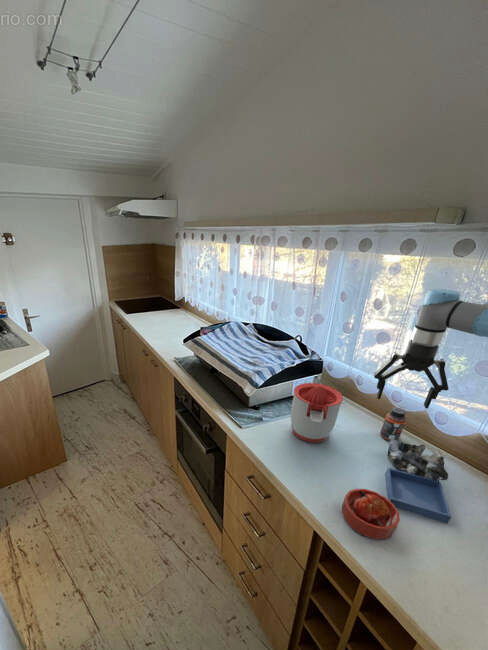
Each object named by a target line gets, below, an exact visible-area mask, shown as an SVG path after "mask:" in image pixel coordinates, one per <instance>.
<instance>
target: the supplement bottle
mask: <svg viewBox="0 0 488 650" xmlns="http://www.w3.org/2000/svg"><path fill="white" fill-rule="evenodd" d="M406 414H407V412H406V410H404V409H403V408H400V407H393V408H392V409H391V410H390V412H388V413H387V414H386V415H385V418H384V421H383V424H382V426H381V428H380V432H379V435H380V436H381V437H382V438H383V439H384V440H386V441H388V442H390V440H391V439H394V440H397V441H399V440H400V438H401V435H402V432H403V431H404V428H405V425H406V423H407V417H406Z"/></svg>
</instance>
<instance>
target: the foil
mask: <svg viewBox="0 0 488 650" xmlns="http://www.w3.org/2000/svg"><path fill="white" fill-rule="evenodd" d="M425 449H427V450H429V451H430V452H432V454H431V455H425V454H423V453H424V451H425ZM438 452H439V454H440V455H438V453H437V452H434V450H433V451H432V449H430V448H429V447H428V446H426V444H409V443H404V442H402V441H399V440H394V439H391V440H390V441H389V445H388V449H387V459H388V460H389V461H390V463H391V464H392V466H393V467H394V468H395V469H396V470H405V471H406V472H407V473H410V474H414V475H418V476H421V477H425V478H429V479H433V480H436V481H440V482H441V481H448V479H449V473H448V471H447V470H446V468H445V462H446V461H445V457H444V456H443V455H442V453H441V451H440V450H438ZM422 454H423V455H422Z"/></svg>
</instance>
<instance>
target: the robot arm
mask: <svg viewBox="0 0 488 650" xmlns="http://www.w3.org/2000/svg"><path fill="white" fill-rule="evenodd" d="M460 297H461V293H460V292H459V291H457V290H452V289H446V288H433V289H431V290H429V291H428V292H427V293H426V296H425V298H424V300H423V301H422V304H421V308H420V311H419V314H418V317H417V319H416V322H415V325H414V328H413V331H412V333H411V335H410V340H409V341H408V345H407V346H406V349H405V352H404V354H399V353H397V351H395V352H394V351H393V352H392V354H391V356H390V358H388V360H387V361H385V363H383V364H382V365H381V366H380V367H379V368H378V369H377V370H376V371H375V372H374V373H373V378H374V379H377V382H376V383H377V384H376V389H377V390H378V391H377V394H376V395H377V397H376V398H377V399H378V400H381V398H382V395H383V391H384V389H385V386H386V383H387V381H386V380H388V379H389V378H391V377H393V376H394V375H396V374H398V373H400V372H402V371H406V370H408V371H412V372H413V371H415V372H418V373H421V372H424V373H425V375H426V376H427V378H428V380H429V381H430V383H431V385H432V386H430V388H429V391H428V393H427V395H426V397H425V399H424V402H423V406H424V409H429V408H430V405H431V403H432V400H436V399H437V398H438V395H439V394H440V393H441V392H442V391H449V390H450V389H449V384H448V379H447V375H446V371H445V367H446V364H447V363H446V361H445V359H444V358H440V359H435V357H436V355H437V353H438V350H439V347H440V346H439V345H440V344H441V343H442V340H443V338H444V335H445V334H446V330H447V328H448V329H452V330H454V331H455V330H456V331H460V332H462V333H468V334H471V335H474V336H477V337H480V338H481V337H483V338H488V302H485V303H475V302H470V301H464V300H460V299H461V298H460ZM399 360H401V362H400V363H399V364H397V365H396V366H394V367H392V366H393V365H394V364H395V363H396V362H398V361H399ZM433 365H435V366H436V368H437V371H438V374H439V378H440V384H439V383H438V382H437V380H436V378H435V376H434V375H433V373H432V371H431V370H430V369H429V368H430V367H432V366H433ZM391 367H392V368H391Z"/></svg>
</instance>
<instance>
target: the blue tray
mask: <svg viewBox="0 0 488 650" xmlns="http://www.w3.org/2000/svg"><path fill="white" fill-rule="evenodd" d="M384 477H385V486H386V495H387V497H386V498H387V499H388V500H389V501H390V502H391V503H393V504H394V506H395V507H396V509H397V510H402V511H405V512H409V513H411V514H415V515H418V516H422V517H425V518H429V519H432V520H434V521H438V522H441V523H444V524H447V525H448V524H449V522H450V520H451V519H452V518H453V517H452V514H451V511H450V510H451V509H450V508H449V504H448V501H447V498H446V494H445V491H444V488H443V485H442V481H441V480H440V481H436V480H433V479H429V478H425V477H421V476H418V475H414V474H410V473H409V472H407V471H402V470H400V469H396V468H391V467H387V468H386V470H385V472H384Z"/></svg>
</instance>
